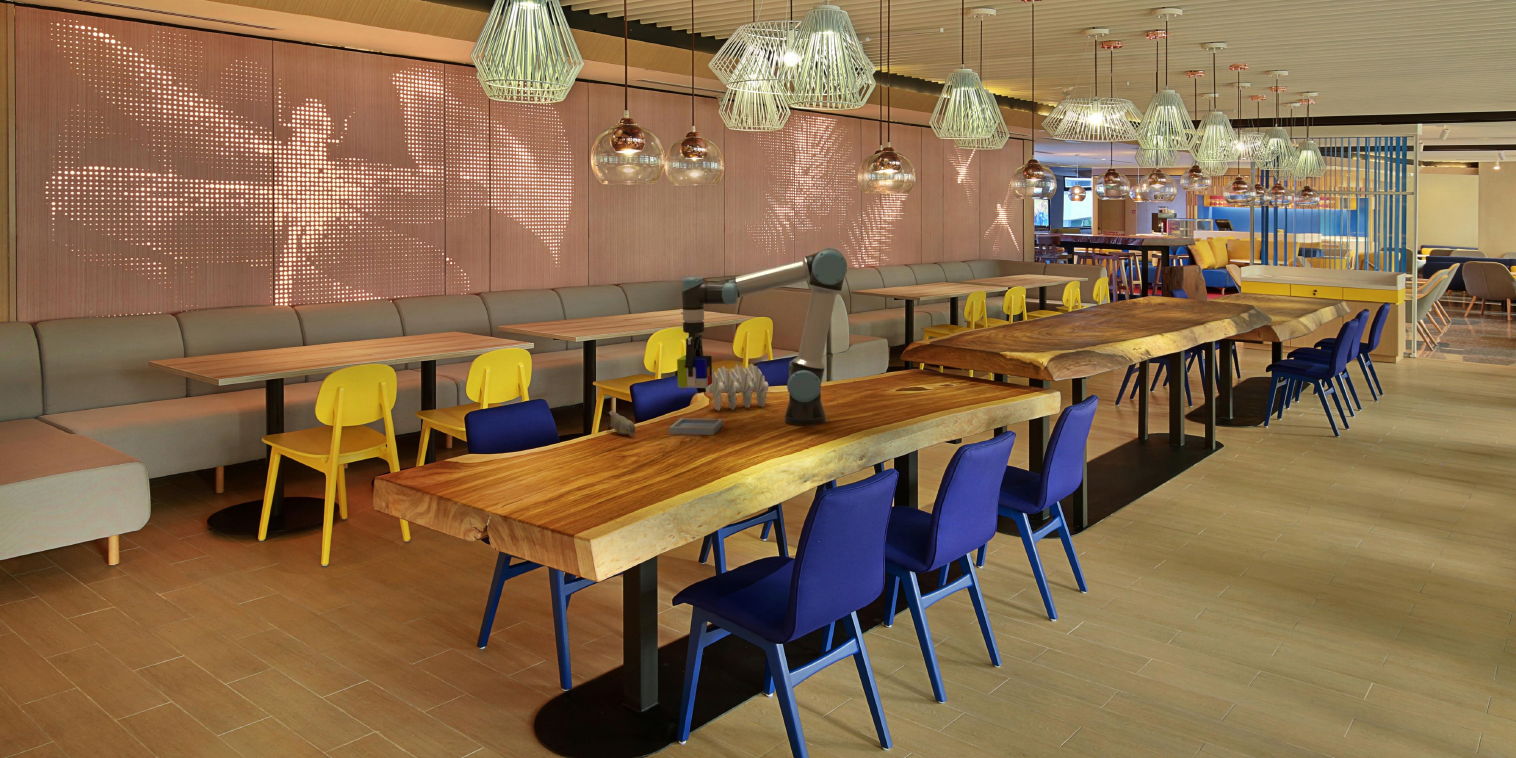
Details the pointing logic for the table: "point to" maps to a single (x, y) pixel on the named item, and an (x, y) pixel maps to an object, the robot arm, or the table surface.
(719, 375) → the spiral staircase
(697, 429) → the tray
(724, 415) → the table surface
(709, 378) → the puzzle toy
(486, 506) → the table surface
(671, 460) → the table surface
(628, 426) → the decorative bird
